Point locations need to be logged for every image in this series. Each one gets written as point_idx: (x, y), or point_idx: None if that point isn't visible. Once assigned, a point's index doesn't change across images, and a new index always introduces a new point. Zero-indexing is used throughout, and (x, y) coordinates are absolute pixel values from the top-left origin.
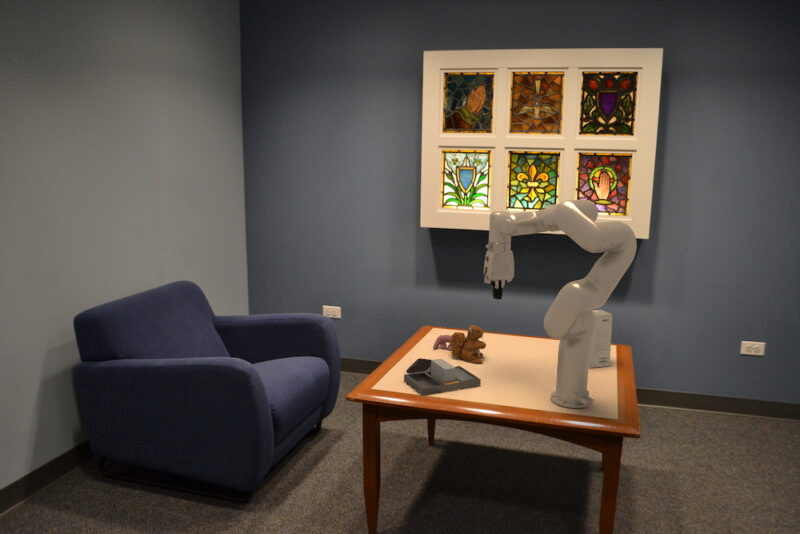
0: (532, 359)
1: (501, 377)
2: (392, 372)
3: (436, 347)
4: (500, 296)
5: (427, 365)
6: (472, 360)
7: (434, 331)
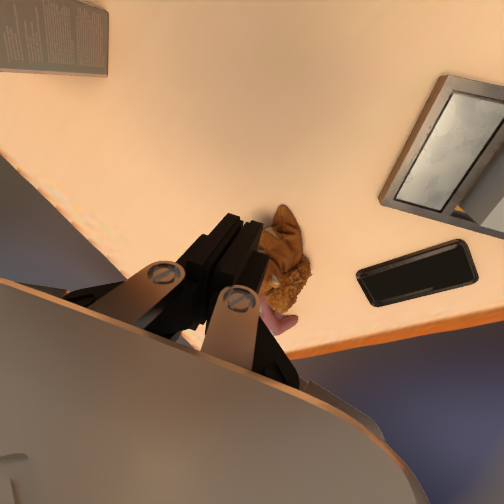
0: (160, 150)
1: (322, 97)
2: (497, 298)
3: (291, 317)
4: (232, 226)
5: (400, 272)
6: (295, 225)
7: None
